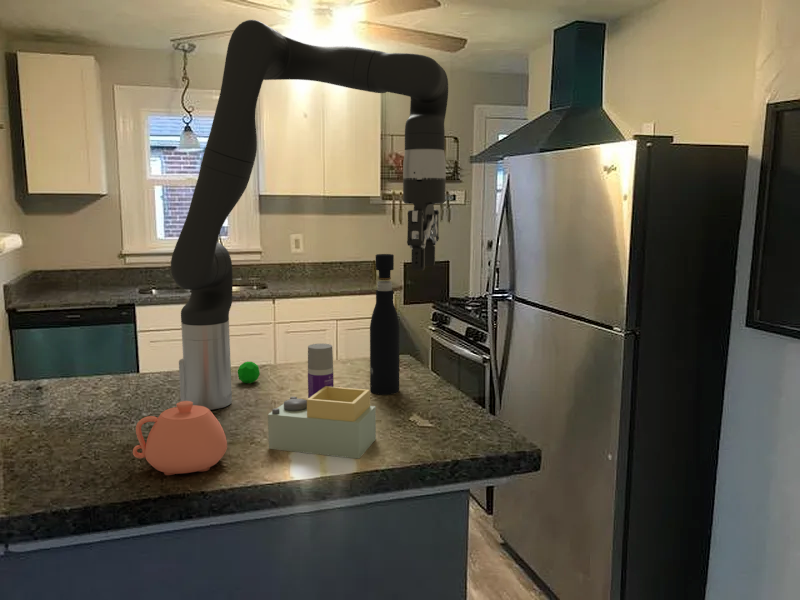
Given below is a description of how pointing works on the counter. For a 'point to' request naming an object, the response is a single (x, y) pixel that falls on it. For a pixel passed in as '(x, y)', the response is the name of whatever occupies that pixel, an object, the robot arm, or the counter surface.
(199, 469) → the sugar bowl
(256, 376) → the polyhedron
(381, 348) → the wine bottle
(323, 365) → the container
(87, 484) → the counter surface
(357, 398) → the grey-green box with tray
